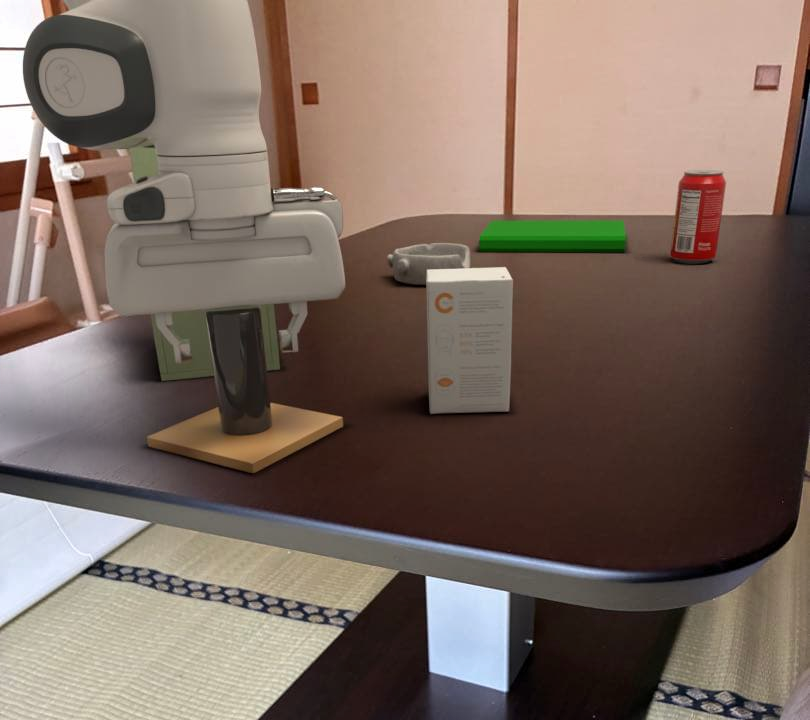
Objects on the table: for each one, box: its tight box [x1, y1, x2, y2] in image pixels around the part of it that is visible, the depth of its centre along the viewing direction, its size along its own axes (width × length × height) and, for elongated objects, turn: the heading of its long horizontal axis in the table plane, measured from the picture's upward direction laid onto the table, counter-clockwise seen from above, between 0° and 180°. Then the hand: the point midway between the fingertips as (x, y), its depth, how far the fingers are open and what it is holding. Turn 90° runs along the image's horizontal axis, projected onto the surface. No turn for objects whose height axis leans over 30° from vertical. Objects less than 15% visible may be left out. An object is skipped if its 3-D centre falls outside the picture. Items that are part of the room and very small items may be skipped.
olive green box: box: [149, 304, 281, 382], centre depth 102 cm, size 15×14×8 cm
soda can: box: [669, 169, 727, 265], centre depth 148 cm, size 8×8×15 cm
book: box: [478, 219, 627, 253], centre depth 173 cm, size 22×28×3 cm
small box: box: [425, 266, 514, 415], centre depth 83 cm, size 8×6×13 cm
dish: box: [386, 242, 471, 286], centre depth 142 cm, size 14×14×5 cm
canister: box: [205, 305, 273, 435], centre depth 76 cm, size 5×5×11 cm
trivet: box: [146, 402, 344, 474], centre depth 79 cm, size 13×13×1 cm
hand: (237, 356), depth 76 cm, fingers open, 8 cm apart
